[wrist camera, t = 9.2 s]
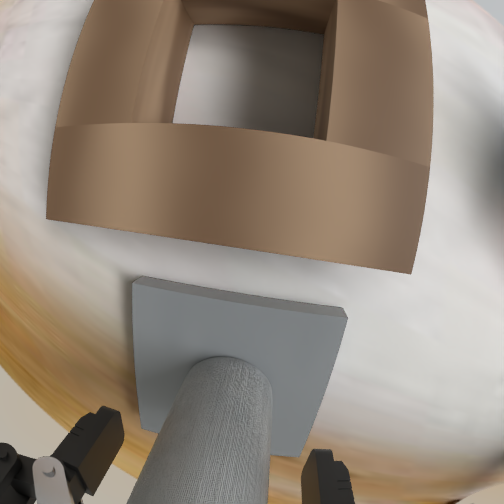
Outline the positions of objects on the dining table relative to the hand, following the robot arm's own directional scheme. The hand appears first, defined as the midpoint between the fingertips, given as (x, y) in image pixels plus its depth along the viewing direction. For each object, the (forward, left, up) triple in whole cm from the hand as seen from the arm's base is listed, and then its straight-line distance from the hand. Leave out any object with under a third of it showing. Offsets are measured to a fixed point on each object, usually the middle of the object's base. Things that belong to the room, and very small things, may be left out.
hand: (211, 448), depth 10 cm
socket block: (+1, -15, -5) cm, 16 cm away
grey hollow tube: (0, 0, -4) cm, 4 cm away
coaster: (0, 0, -5) cm, 5 cm away
